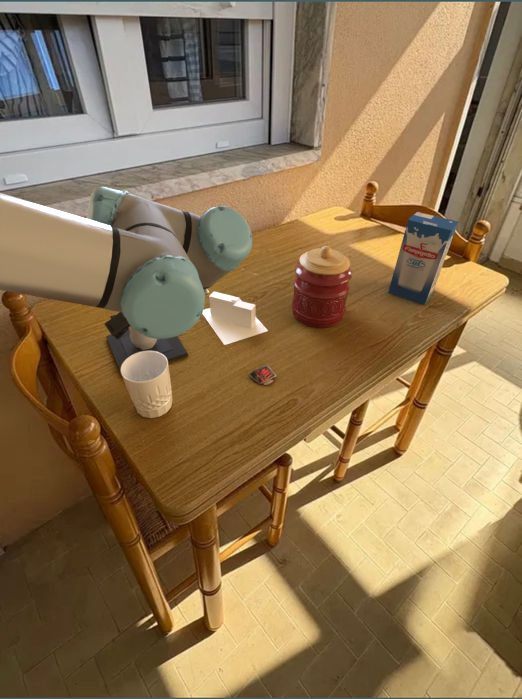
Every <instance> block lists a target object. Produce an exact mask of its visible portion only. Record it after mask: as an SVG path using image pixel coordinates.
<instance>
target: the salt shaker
mask: <svg viewBox="0 0 522 699" xmlns="http://www.w3.org/2000/svg"><path fill="white" fill-rule="evenodd" d="M129 329H130V339H131V342H132V343H133V344H134V345H135V346H136V347H137V348H139V349H142V350H146V349H150V348H152V347H153V346H154V345H155V343H156V341H157V339H154V338H150V337H146V336H144V335H143V334H141V333H139V332H138V331H136V330H135V329H134V328H133V327H131V326H130V327H129Z"/></svg>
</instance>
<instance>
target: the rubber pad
mask: <svg viewBox="0 0 522 699" xmlns="http://www.w3.org/2000/svg"><path fill="white" fill-rule="evenodd" d="M105 338H106V340H107V343H108V346H109V349H110V350H111V353H112V356H113V358H114V360H115V363H116V365H117V368H118V370H119V373H120V374H121V365H122V364H123V362H124V361H125V360H126V359H127V358H128V357H130V356H131V355H133V354H135V353H138V352H142V351H156V352H159V353H161V354H163V355H164V356H165V357H166V358H167V360H168V363H169V362H172V361H176V360H179V359H182V358H185V357H188V356H189V353H188V351H187V349H186V348H185V346H184V344H183V343H182V341H181V340H180V338H179V336H176V337H172V338H167V339H157V341H156V343H155V345H154V346H153V347H152V348H150V349H146V350H142V349H139V348H137V347H136V346H135V345H134V344H133V343H132V342H131V339H130V328H129V329H128V330H127V331H126V332H125V333H124V334H123V335H122V336H121V337H120V338H119V339H116V338H115V336H112V335H111V334H109V335H106V336H105Z"/></svg>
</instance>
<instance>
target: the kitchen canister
mask: <svg viewBox="0 0 522 699" xmlns="http://www.w3.org/2000/svg"><path fill="white" fill-rule="evenodd" d="M298 260H299V261H298V262H297V264H296V265H295V267H294V272H295V275H296V276H295V277H294V279H293V286H294V287H293V299H292V303H291V309H292V315H293V316H294V318H295V319H296V320H297V321H298V322H300V323H301V324H304V325H306V326H309V327H313V328H330V327H333V326H335V325H337V324H339V323H340V322H341V321H342V320H343V319H344V318H343V317H344V315H345V314H346V308H347V307H346V305H347V300H348V293H349V290H350V287H351V285H350V282H349V281H350V280H351V279H352V276H353V270H352V269H351V261H350V259H349V257H347V256H346V255H344V254H343V253H342V252H341V251H339V250H336V249H333V248H331V247H330V245H323V246H322V247H316V248H312V249H310V250H308V251H306V252H304V253H303V254H301V255H300V257H299V259H298Z"/></svg>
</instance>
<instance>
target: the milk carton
mask: <svg viewBox="0 0 522 699" xmlns="http://www.w3.org/2000/svg"><path fill="white" fill-rule="evenodd" d="M458 225H459V221H458V220H453V219H449V218H445V217H441V216H437V215H433V214H428V213H425V212H420V211H416V212H415V213H414V214H412V215H411V216H410V217H409V218H408V219H407V222H406V226H405V230H404V234H403V237H402V241H401V244H400V248H399V252H398V256H397V258H396V263H395V266H394V270H393V274H392V276H391V280H390V284H389V288H388V292H387V293H388V294H390V295H394V296H397V297H400V298H403V299H405V300H408V301H411V302H414V303H417V304H420V305H423V306H425V305H426V304H427V302H428V301H429V300H430V298H431V297H432V295H433V293H434V291H435V288H436V286H437V283H438V279H439V276H440V274H441V271H442V268H443V266H444V262H445V261H446V257H447V254H448V252H449V249H450V246H451V244H452V241H453V239H454V235H455V232H456V231H457V228H458Z"/></svg>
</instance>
